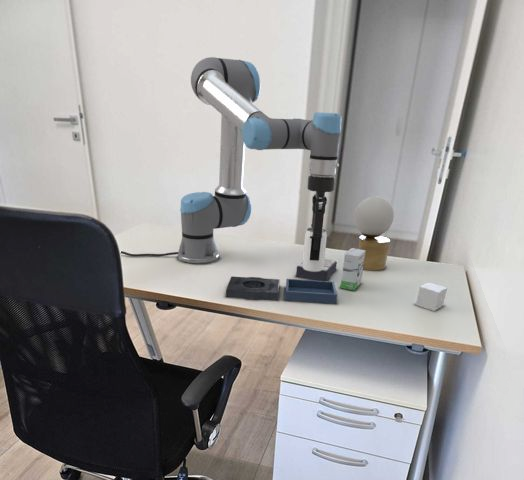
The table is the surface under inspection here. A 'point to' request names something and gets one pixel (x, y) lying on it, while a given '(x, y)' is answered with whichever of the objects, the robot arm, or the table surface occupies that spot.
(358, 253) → the ink box
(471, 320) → the table surface
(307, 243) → the can
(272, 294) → the plate
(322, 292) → the blue tray
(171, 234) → the table surface
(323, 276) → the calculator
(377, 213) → the lamp
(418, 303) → the white cube
